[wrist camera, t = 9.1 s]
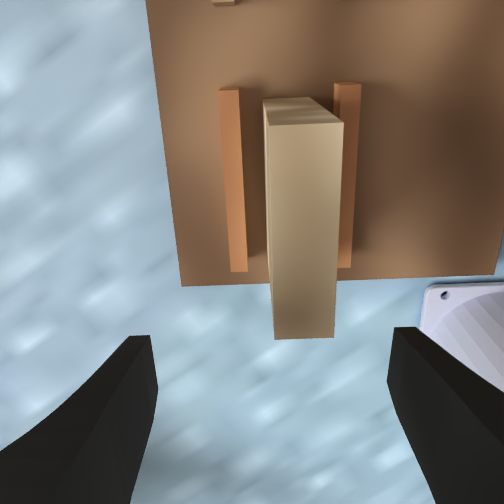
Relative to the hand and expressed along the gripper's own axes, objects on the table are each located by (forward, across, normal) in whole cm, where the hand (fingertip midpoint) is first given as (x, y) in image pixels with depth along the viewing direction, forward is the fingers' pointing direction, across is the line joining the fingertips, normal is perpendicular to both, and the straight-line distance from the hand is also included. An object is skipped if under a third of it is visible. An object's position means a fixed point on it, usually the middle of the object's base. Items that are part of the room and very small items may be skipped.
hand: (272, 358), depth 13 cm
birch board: (+9, -1, -3) cm, 10 cm away
